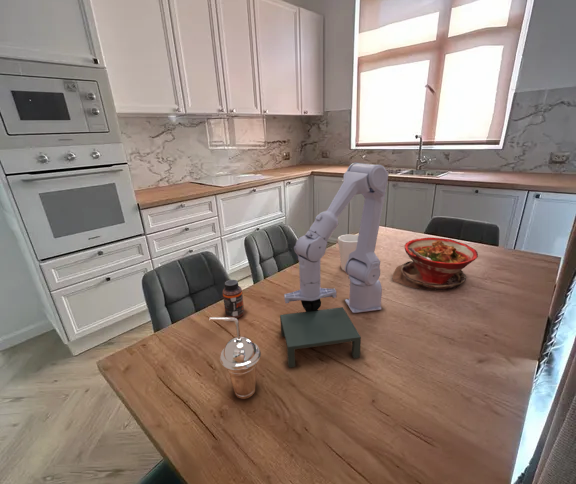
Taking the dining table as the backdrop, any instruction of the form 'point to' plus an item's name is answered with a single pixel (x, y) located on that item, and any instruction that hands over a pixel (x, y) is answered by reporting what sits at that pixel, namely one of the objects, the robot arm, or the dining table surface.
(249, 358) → the cup with straw
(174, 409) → the dining table surface
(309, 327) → the bench
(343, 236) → the foam cup
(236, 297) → the supplement bottle
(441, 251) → the stew
